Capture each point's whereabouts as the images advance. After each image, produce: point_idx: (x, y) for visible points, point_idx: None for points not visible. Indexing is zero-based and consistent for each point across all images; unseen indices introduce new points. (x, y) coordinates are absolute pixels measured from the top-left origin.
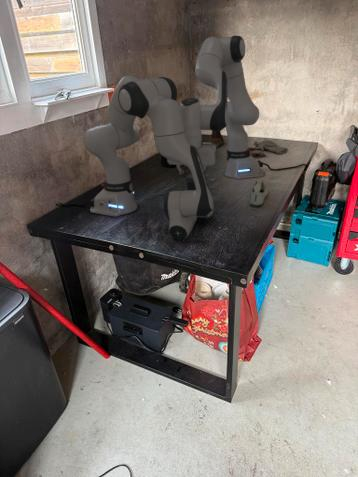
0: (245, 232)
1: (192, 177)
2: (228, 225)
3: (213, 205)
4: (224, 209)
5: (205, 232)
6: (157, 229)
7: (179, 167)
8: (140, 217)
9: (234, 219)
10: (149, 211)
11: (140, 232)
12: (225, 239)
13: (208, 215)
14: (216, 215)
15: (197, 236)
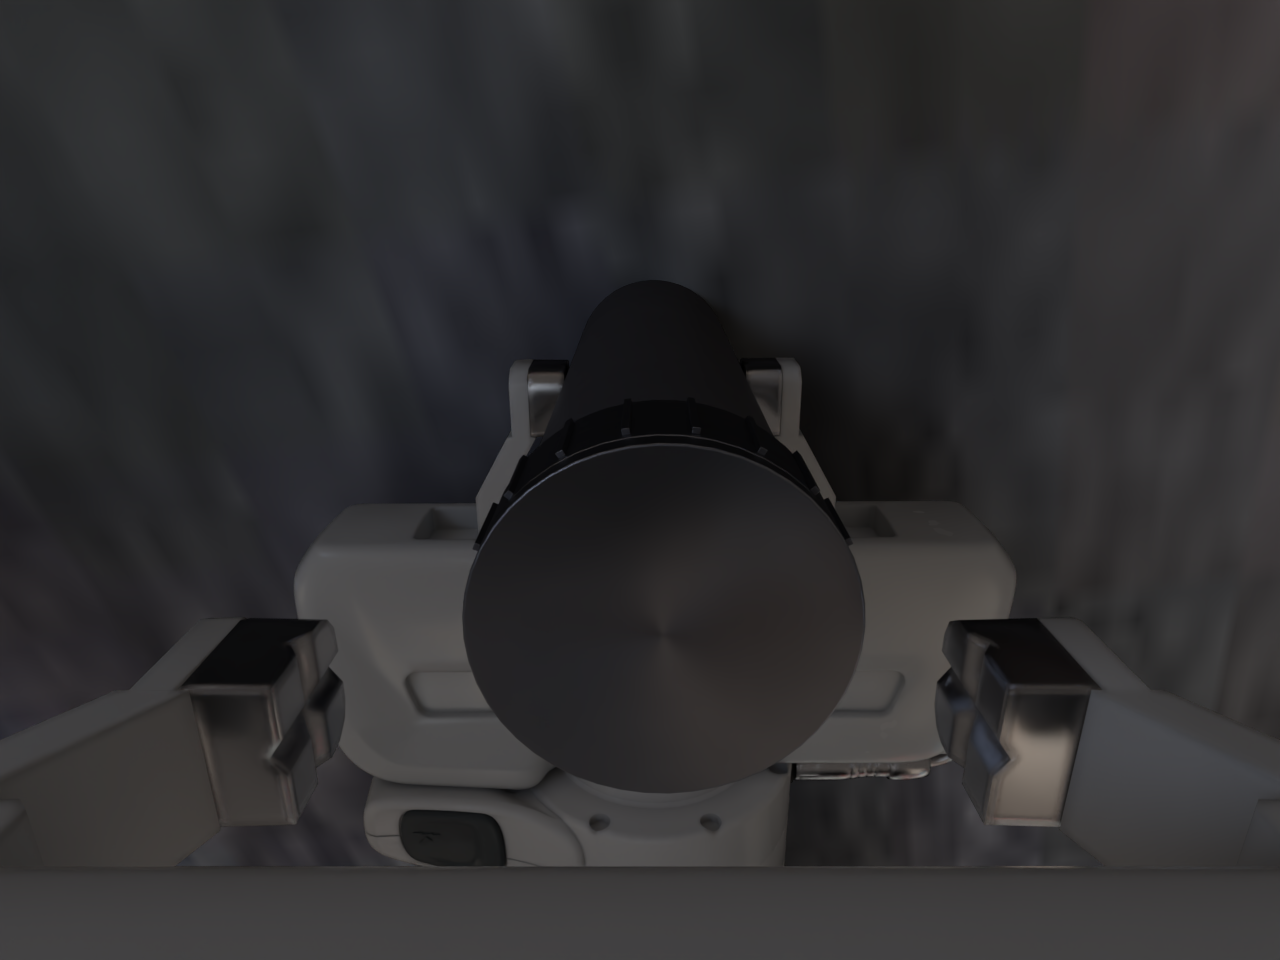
0: (1266, 731)
1: (689, 748)
2: (1105, 622)
3: (1011, 605)
4: (1087, 189)
5: (861, 778)
6: (368, 786)
7: (66, 858)
8: (37, 575)
9: (1193, 476)
10: (46, 403)
11: (232, 852)
12: (1055, 860)
13: (928, 766)
14: (969, 399)
15: (793, 848)
